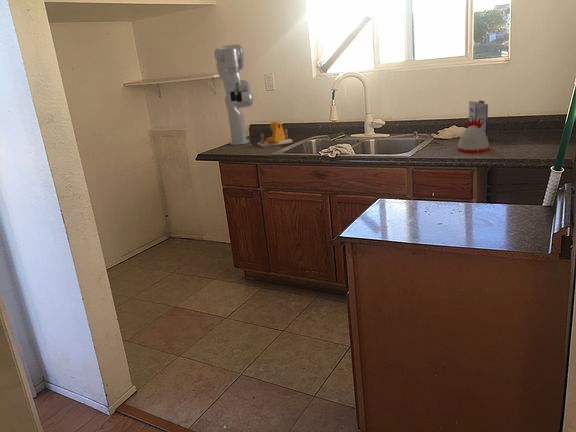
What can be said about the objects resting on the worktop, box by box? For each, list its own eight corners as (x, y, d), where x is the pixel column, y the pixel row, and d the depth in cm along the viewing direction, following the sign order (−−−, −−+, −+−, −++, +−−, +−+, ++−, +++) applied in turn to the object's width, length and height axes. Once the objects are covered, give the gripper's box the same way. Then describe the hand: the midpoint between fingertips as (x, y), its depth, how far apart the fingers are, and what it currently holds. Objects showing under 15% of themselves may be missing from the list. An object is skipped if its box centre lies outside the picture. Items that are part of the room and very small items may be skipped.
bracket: (276, 139, 305) (274, 120, 301) (285, 139, 301) (283, 120, 297) (265, 143, 297) (263, 123, 293) (275, 143, 293) (273, 123, 289)
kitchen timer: (481, 154, 225) (482, 121, 220) (453, 152, 234) (453, 120, 229) (493, 147, 234) (494, 116, 229) (465, 146, 243) (465, 115, 238)
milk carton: (468, 139, 258) (468, 100, 252) (480, 137, 258) (481, 99, 252) (474, 141, 251) (475, 101, 245) (487, 139, 252) (488, 100, 245)
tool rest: (257, 145, 301) (256, 133, 298) (285, 140, 308) (284, 128, 305) (264, 147, 292) (262, 134, 290) (292, 142, 299) (291, 129, 297)
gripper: (221, 71, 284) (225, 101, 290) (231, 71, 269) (235, 103, 275) (233, 70, 287) (237, 99, 293) (244, 70, 272) (248, 101, 278)
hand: (236, 101), depth 284 cm, fingers open, 9 cm apart
